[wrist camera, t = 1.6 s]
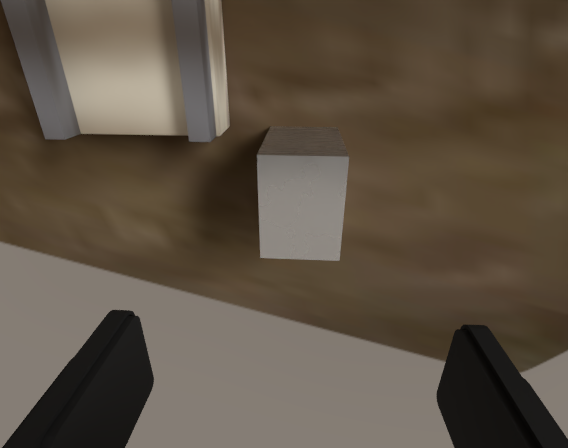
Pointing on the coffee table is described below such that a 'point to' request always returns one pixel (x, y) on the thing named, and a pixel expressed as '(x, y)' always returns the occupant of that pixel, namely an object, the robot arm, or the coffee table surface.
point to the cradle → (123, 66)
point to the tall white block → (301, 193)
